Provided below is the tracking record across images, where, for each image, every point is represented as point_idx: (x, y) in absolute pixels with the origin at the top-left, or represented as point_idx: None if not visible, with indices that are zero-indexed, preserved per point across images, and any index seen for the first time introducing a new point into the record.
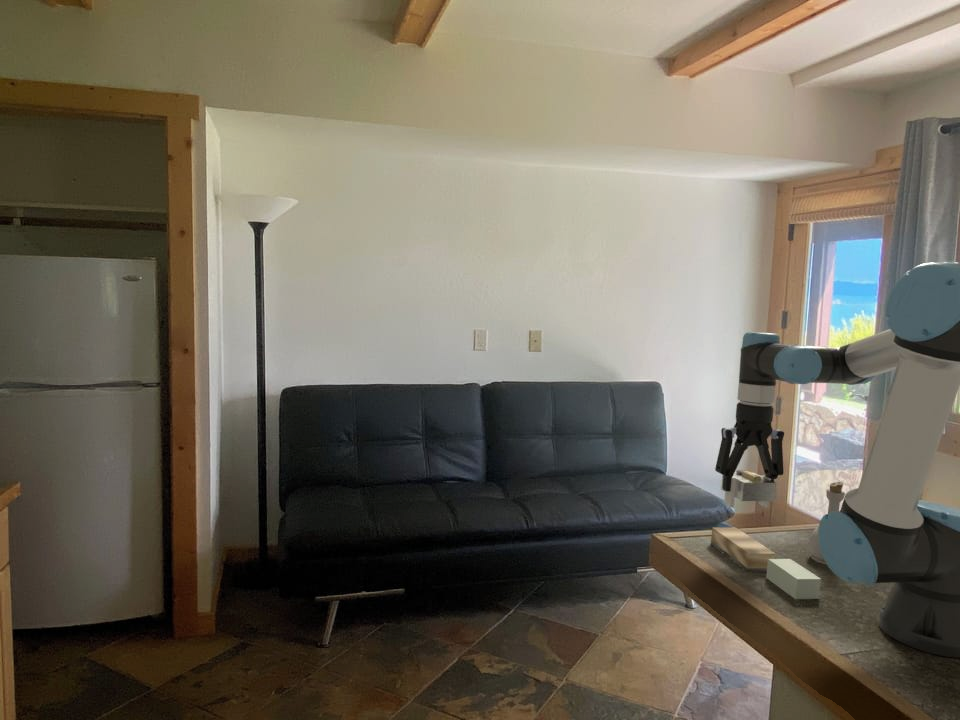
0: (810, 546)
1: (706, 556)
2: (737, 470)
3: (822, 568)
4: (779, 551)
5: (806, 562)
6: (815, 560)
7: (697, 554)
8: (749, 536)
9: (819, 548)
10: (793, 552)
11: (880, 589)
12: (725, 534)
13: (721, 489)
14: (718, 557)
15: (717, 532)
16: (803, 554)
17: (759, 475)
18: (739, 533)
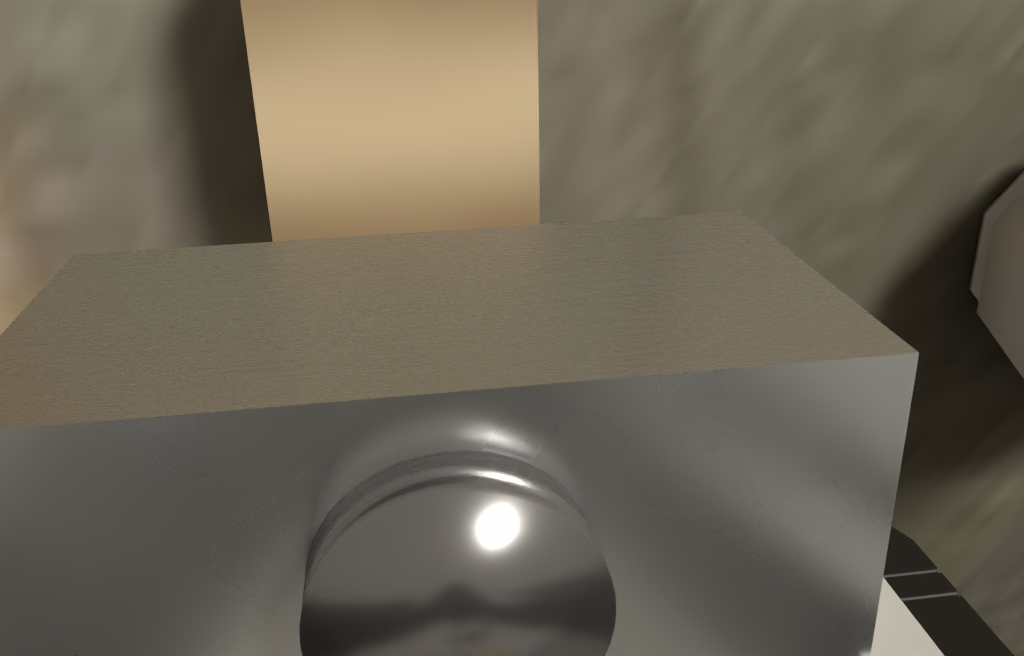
0: (1013, 264)
1: (98, 212)
2: (370, 527)
3: (916, 382)
4: (833, 66)
5: (885, 286)
6: (976, 259)
7: (24, 170)
8: (537, 174)
9: (1017, 362)
10: (938, 85)
11: (1010, 629)
12: (298, 126)
13: (77, 263)
14: (204, 228)
15: (245, 26)
16: (988, 127)
17: (872, 613)
18: (474, 88)
